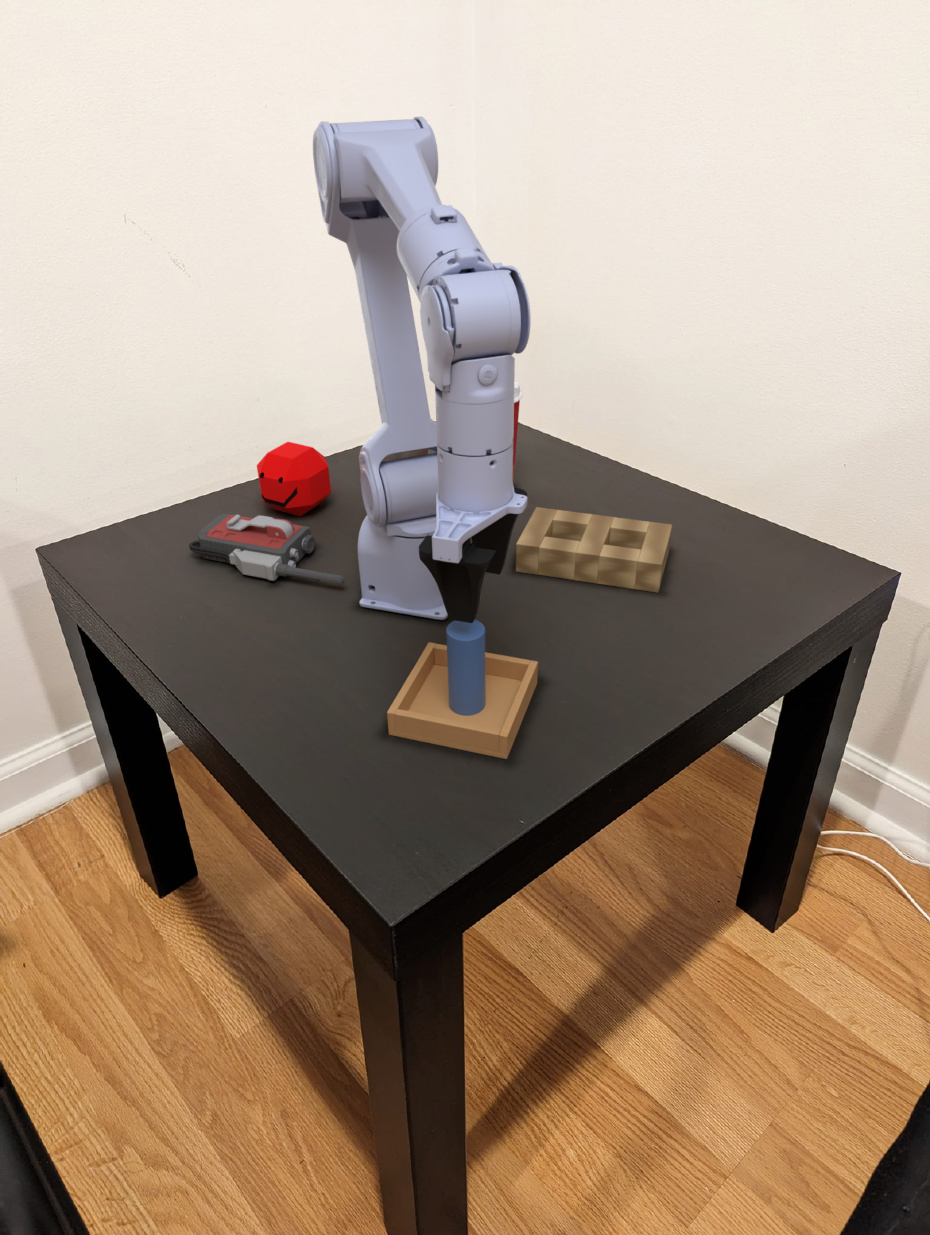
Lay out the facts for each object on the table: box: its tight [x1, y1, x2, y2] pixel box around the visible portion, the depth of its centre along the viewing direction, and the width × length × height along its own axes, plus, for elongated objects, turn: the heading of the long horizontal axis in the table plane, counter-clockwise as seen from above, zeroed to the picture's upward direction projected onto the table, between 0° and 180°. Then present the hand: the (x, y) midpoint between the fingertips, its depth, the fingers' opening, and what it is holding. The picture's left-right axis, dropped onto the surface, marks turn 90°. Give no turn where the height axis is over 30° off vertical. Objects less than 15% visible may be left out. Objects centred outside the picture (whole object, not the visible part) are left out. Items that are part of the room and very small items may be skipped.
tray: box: [386, 641, 539, 760], centre depth 76 cm, size 10×10×2 cm
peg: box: [446, 619, 486, 716], centre depth 74 cm, size 3×3×8 cm
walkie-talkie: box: [188, 513, 345, 584], centre depth 97 cm, size 9×4×20 cm
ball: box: [256, 441, 332, 517], centre depth 107 cm, size 8×8×8 cm
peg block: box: [515, 506, 673, 594], centre depth 96 cm, size 16×9×4 cm, turn 72°
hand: (476, 594), depth 73 cm, fingers open, 7 cm apart
